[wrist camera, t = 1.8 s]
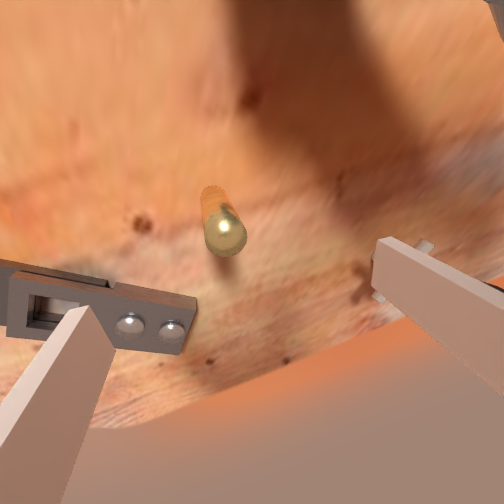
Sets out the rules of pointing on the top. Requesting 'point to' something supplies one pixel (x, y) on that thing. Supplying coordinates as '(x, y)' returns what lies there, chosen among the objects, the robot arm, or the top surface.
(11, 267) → the bar
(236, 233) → the pin
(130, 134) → the top surface
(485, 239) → the top surface
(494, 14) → the robot arm
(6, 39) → the top surface
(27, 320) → the chain end
